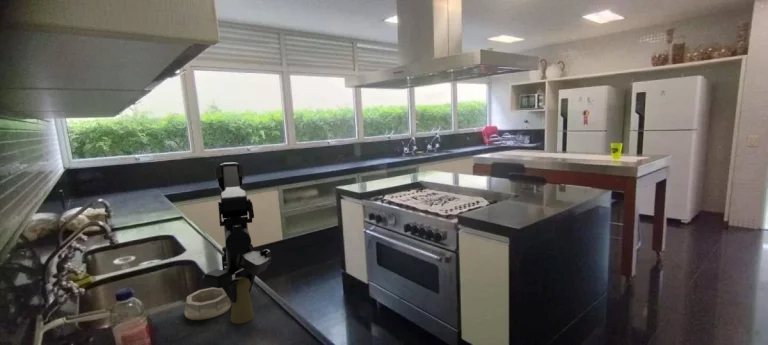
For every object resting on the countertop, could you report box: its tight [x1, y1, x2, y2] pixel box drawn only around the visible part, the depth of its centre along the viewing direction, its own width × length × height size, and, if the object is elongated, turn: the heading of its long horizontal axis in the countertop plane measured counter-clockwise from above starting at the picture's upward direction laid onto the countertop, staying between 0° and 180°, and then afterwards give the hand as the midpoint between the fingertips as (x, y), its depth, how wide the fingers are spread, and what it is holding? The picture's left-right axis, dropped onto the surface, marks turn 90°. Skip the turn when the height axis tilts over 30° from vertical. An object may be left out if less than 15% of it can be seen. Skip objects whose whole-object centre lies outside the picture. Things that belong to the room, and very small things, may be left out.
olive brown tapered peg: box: [230, 277, 255, 325], centre depth 97 cm, size 6×6×11 cm
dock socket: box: [183, 287, 232, 321], centre depth 103 cm, size 12×12×4 cm
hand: (241, 298), depth 97 cm, fingers closed on olive brown tapered peg, 5 cm apart
